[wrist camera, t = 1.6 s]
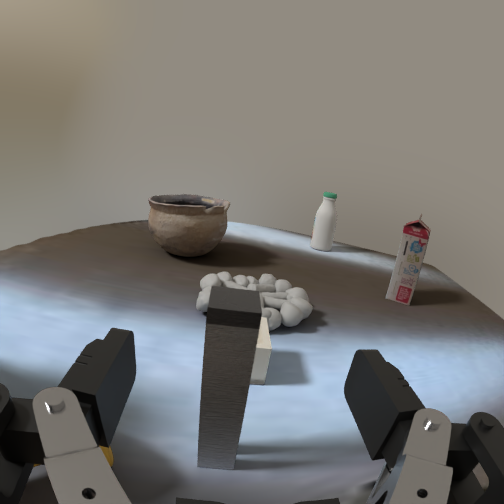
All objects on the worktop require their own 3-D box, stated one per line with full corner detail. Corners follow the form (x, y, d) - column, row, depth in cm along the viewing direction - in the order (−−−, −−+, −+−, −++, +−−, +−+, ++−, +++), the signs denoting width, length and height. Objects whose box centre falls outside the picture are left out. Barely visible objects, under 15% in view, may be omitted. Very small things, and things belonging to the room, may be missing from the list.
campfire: (250, 356, 45) (256, 322, 44) (173, 300, 59) (174, 272, 57) (327, 318, 61) (334, 292, 60) (252, 282, 75) (256, 259, 73)
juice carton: (411, 297, 76) (433, 217, 70) (409, 305, 71) (433, 218, 64) (389, 290, 79) (409, 210, 73) (385, 298, 74) (407, 211, 68)
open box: (203, 379, 39) (205, 342, 37) (207, 346, 46) (210, 311, 44) (263, 385, 39) (271, 348, 37) (260, 351, 47) (266, 317, 45)
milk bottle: (335, 251, 110) (345, 196, 105) (318, 251, 107) (329, 193, 101) (322, 245, 117) (331, 192, 111) (305, 244, 113) (315, 189, 108)
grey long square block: (197, 466, 25) (207, 307, 20) (200, 441, 28) (211, 285, 23) (233, 469, 25) (262, 313, 20) (233, 444, 29) (259, 291, 23)
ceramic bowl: (195, 273, 74) (201, 209, 69) (129, 251, 81) (131, 195, 77) (236, 252, 93) (243, 202, 89) (177, 236, 101) (181, 190, 97)
